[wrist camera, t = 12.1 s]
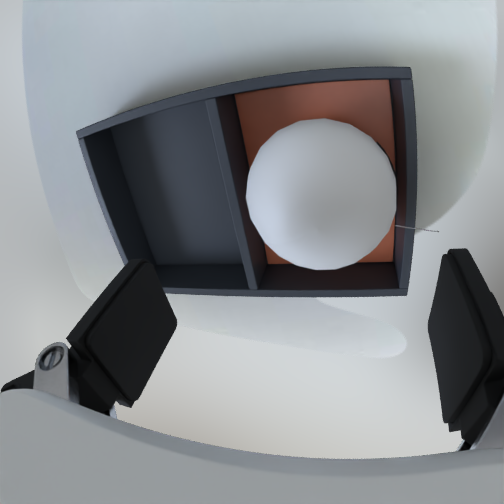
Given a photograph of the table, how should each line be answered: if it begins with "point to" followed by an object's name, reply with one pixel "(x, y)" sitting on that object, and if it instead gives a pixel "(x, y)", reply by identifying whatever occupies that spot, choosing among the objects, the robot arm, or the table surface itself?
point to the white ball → (322, 193)
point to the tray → (245, 181)
